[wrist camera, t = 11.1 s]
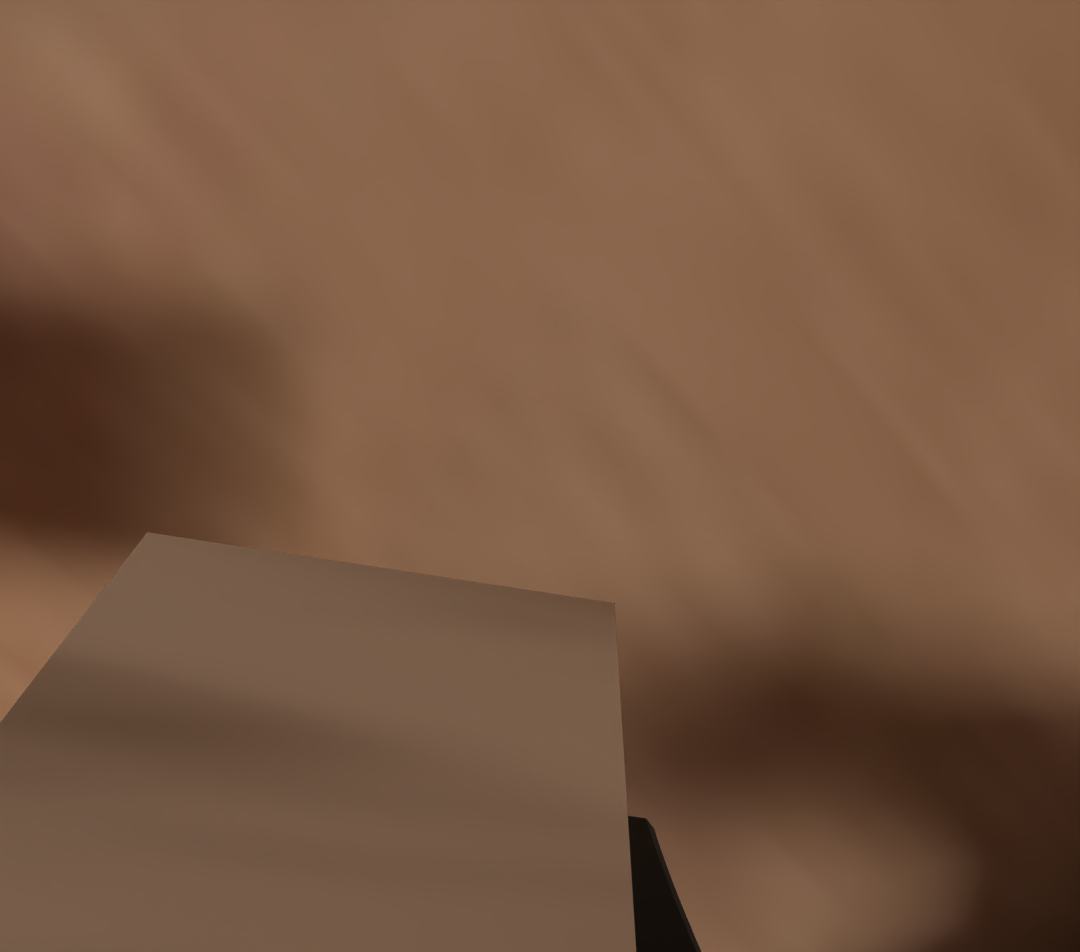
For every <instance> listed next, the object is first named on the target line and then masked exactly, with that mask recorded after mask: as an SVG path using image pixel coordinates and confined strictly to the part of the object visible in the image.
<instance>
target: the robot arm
mask: <svg viewBox="0 0 1080 952" xmlns="http://www.w3.org/2000/svg"><path fill="white" fill-rule="evenodd" d="M628 827H629V843H630V859H631V875H632V891H633V908H634V924H635V940H636V952H701V950H700V948H699V945H698V943H697V941H696V939H695V936H694V934H693V931H692V929H691V927H690V924H689V922H688V919H687V917H686V914H685V912H684V910H683V907H682V905H681V902H680V900H679V897H678V895H677V892H676V890H675V887H674V884H673V882H672V879H671V877H670V874H669V871H668V868H667V866H666V863H665V860H664V857H663V854H662V852H661V849H660V846H659V843H658V840H657V837H656V834H655V831H654V828H653V827H652V826H651V824H650V823H649V822H648V820H647V819H645V818H638V817H631V816H628Z"/></svg>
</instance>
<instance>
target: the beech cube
mask: <svg viewBox="0 0 1080 952" xmlns="http://www.w3.org/2000/svg"><path fill="white" fill-rule="evenodd" d="M0 952H636V940H635V924H634V908H633V891H632V875H631V859H630V843H629V827H628V811H627V795H626V779H625V763H624V746H623V730H622V714H621V698H620V682H619V666H618V650H617V634H616V617H615V603H609V602H603V601H596V600H590V599H583V598H577V597H570V596H563V595H557V594H550V593H544V592H537V591H531V590H524V589H517V588H511V587H504V586H498V585H491V584H484V583H478V582H471V581H465V580H458V579H452V578H445V577H438V576H432V575H425V574H419V573H412V572H405V571H399V570H392V569H386V568H379V567H373V566H366V565H359V564H353V563H346V562H340V561H333V560H326V559H320V558H313V557H307V556H300V555H294V554H287V553H280V552H274V551H267V550H261V549H254V548H248V547H241V546H234V545H228V544H221V543H215V542H208V541H201V540H195V539H188V538H182V537H175V536H169V535H162V534H155V533H149V532H147V533H146V534H145V536H144V537H143V538H142V540H141V541H140V542H139V543H138V545H137V546H136V547H135V549H134V550H133V551H132V553H131V554H130V555H129V556H128V558H127V559H126V560H125V562H124V563H123V564H122V566H121V567H120V568H119V569H118V571H117V572H116V573H115V575H114V576H113V577H112V579H111V580H110V581H109V582H108V584H107V585H106V586H105V588H104V589H103V590H102V591H101V593H100V594H99V595H98V597H97V598H96V599H95V601H94V602H93V603H92V604H91V606H90V607H89V608H88V610H87V611H86V612H85V614H84V615H83V616H82V617H81V619H80V620H79V621H78V623H77V624H76V625H75V627H74V628H73V629H72V630H71V632H70V633H69V634H68V636H67V637H66V638H65V640H64V641H63V642H62V643H61V645H60V646H59V647H58V649H57V650H56V651H55V652H54V654H53V655H52V656H51V658H50V659H49V660H48V662H47V663H46V664H45V665H44V667H43V668H42V669H41V671H40V672H39V673H38V675H37V676H36V677H35V678H34V680H33V681H32V682H31V684H30V685H29V686H28V688H27V689H26V690H25V691H24V693H23V694H22V695H21V697H20V698H19V699H18V701H17V702H16V703H15V704H14V706H13V707H12V708H11V710H10V711H9V712H8V713H7V715H6V716H5V717H4V719H3V720H2V721H1V723H0Z"/></svg>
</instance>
